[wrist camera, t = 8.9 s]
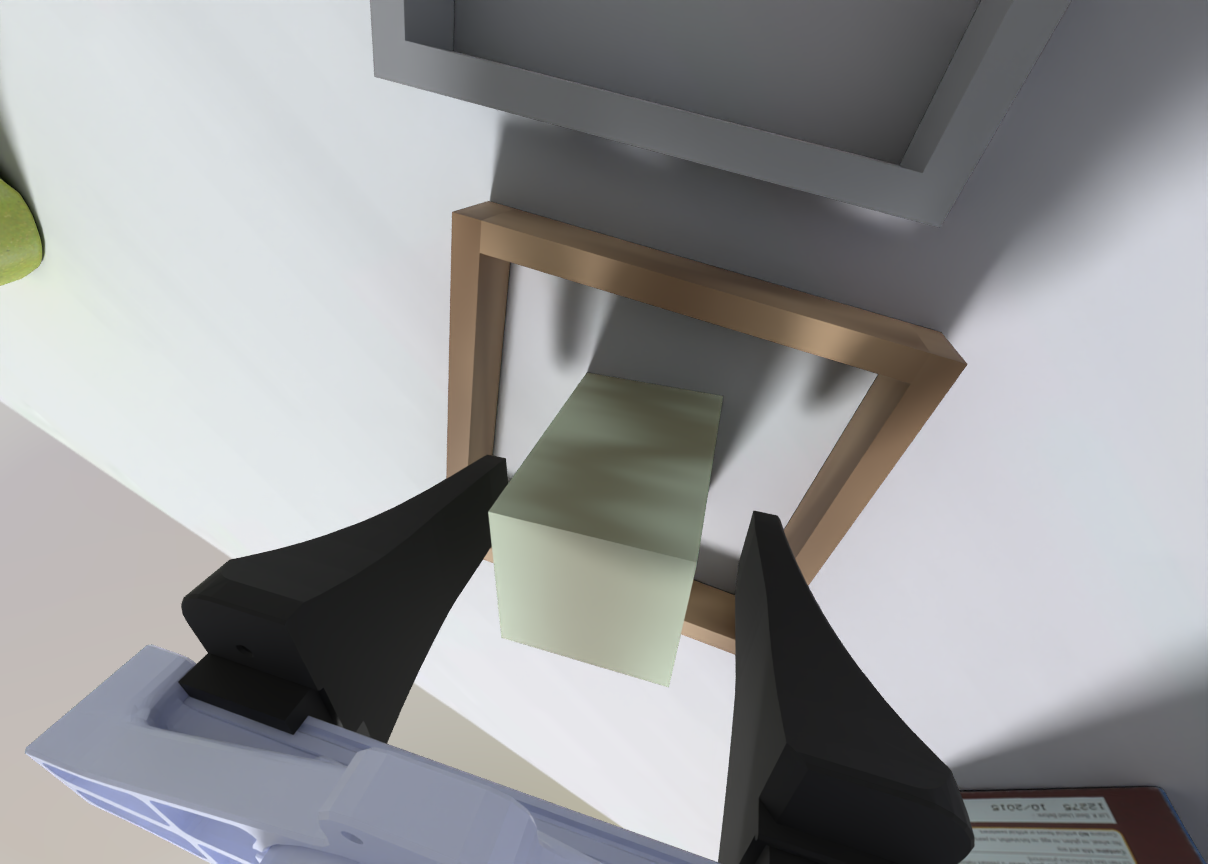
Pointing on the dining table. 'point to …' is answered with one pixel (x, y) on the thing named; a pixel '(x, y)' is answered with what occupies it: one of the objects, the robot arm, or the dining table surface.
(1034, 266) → the dining table surface
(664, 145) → the charcoal bin
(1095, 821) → the protein box
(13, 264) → the plant pot
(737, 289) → the brown wooden square frame
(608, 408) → the sage block
